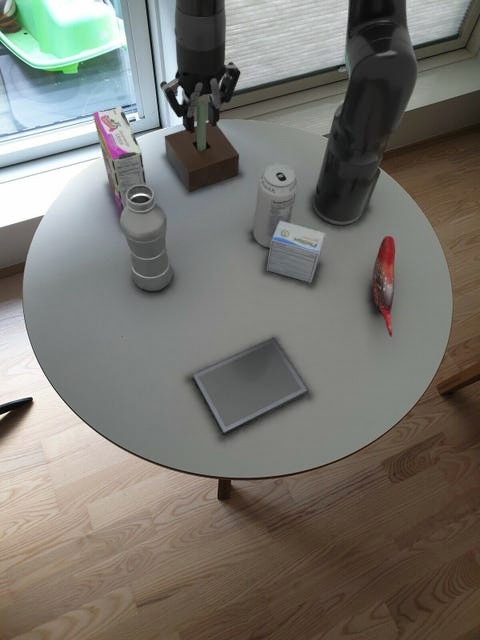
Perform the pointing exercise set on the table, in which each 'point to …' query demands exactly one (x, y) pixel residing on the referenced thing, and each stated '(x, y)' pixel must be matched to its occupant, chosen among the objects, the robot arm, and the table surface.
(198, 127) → the stylus
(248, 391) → the tablet
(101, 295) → the table surface
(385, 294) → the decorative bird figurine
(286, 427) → the table surface
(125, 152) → the candy bar box
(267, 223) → the energy drink can
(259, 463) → the table surface
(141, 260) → the plastic bottle
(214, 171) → the holder
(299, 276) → the medicine box
